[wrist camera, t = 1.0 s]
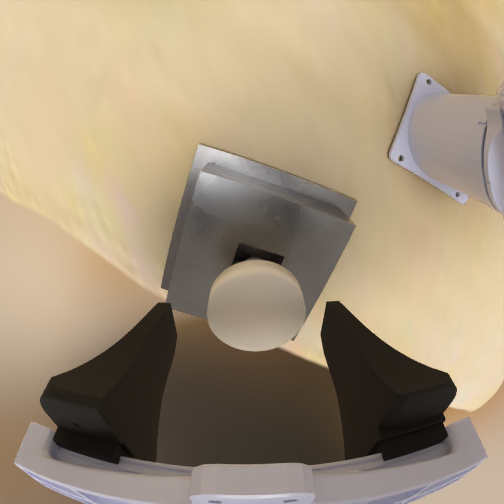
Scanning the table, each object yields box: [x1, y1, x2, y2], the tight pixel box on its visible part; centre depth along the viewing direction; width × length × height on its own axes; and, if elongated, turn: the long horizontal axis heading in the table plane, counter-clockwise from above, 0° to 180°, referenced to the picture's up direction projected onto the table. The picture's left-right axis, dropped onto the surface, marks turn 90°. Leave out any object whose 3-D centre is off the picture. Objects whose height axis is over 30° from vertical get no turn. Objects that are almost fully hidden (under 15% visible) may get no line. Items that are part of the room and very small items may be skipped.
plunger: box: [207, 257, 306, 351], centre depth 17 cm, size 5×5×5 cm
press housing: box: [161, 144, 357, 341], centre depth 20 cm, size 12×12×4 cm
